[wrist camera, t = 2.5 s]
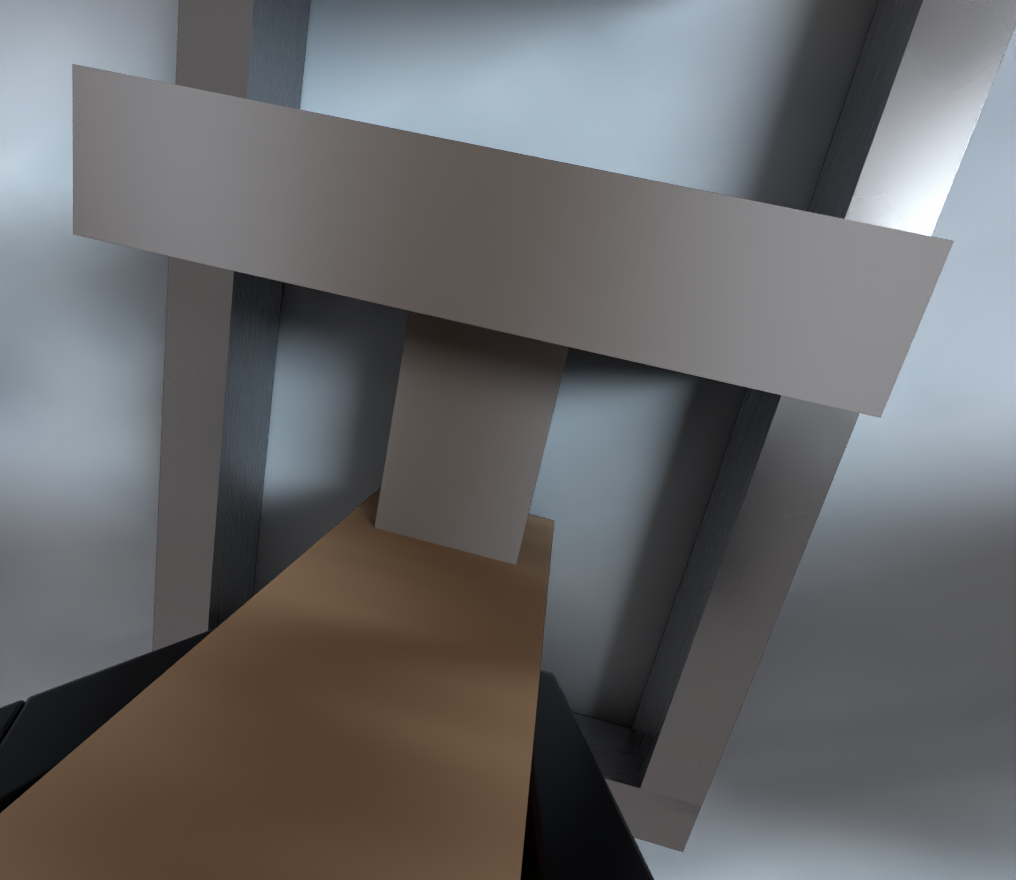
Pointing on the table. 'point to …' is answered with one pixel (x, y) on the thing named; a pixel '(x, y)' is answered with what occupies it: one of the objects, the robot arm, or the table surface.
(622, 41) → the table surface
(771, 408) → the frame
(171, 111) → the press carriage
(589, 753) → the robot arm
